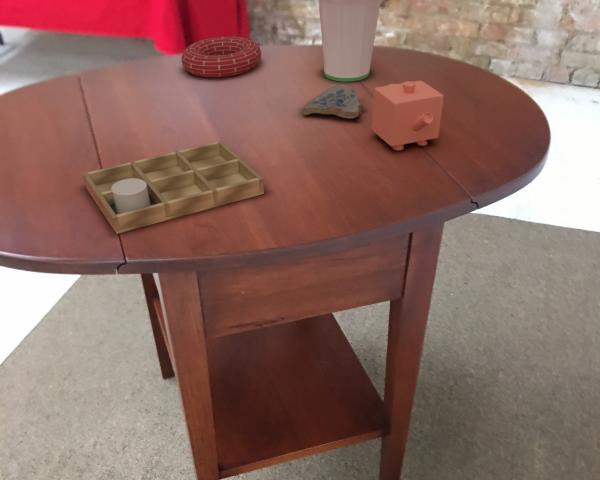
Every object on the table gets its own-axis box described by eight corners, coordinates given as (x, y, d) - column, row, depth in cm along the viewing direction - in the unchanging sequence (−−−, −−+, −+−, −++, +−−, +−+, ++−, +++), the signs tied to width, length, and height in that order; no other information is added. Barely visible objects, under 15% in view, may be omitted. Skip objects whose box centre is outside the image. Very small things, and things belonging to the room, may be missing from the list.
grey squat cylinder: (122, 221, 79) (117, 197, 77) (112, 206, 82) (106, 183, 80) (156, 212, 81) (151, 189, 78) (144, 198, 83) (140, 175, 81)
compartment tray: (116, 234, 78) (112, 217, 77) (86, 188, 87) (82, 173, 85) (264, 193, 85) (263, 178, 83) (222, 155, 94) (221, 140, 92)
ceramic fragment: (355, 115, 99) (299, 96, 101) (351, 135, 101) (297, 115, 104) (381, 92, 105) (328, 74, 108) (377, 111, 108) (325, 93, 110)
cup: (393, 71, 118) (401, -26, 107) (354, 91, 111) (358, -11, 100) (339, 58, 123) (341, -36, 112) (299, 76, 117) (297, -22, 106)
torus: (230, 49, 129) (228, 29, 126) (278, 64, 122) (277, 44, 119) (167, 68, 121) (163, 47, 118) (213, 86, 114) (211, 64, 111)
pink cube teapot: (400, 162, 91) (406, 102, 85) (365, 131, 99) (368, 74, 93) (448, 153, 93) (457, 94, 87) (409, 123, 101) (415, 67, 95)
